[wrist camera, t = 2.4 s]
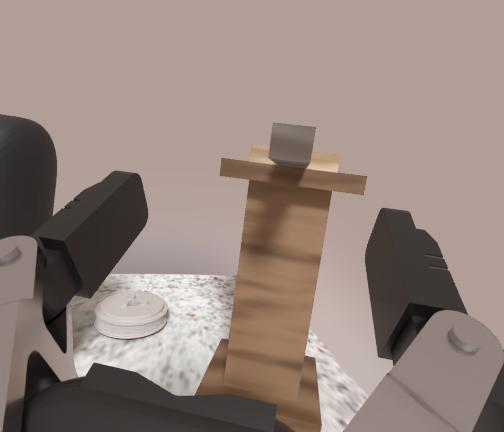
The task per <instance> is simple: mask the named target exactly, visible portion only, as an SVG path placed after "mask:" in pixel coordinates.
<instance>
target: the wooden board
mask: <svg viewBox="0 0 504 432" xmlns="http://www.w3.org/2000/svg"><path fill="white" fill-rule="evenodd" d="M315 129H316V127H309V126H300V125H291V124H282V123H273V127H272V134H271V142H270V146H262V145H254V144H251V151H250V158H249V162H257V163H265V164H273V165H281V166H289V167H297V168H304V169H312V170H320V171H328V172H336V173H337V171H338V165H339V159H340V155H338V154H330V153H321V152H313V151H312V148H313V142H314V136H315Z"/></svg>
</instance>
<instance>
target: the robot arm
mask: <svg viewBox="0 0 504 432" xmlns="http://www.w3.org/2000/svg"><path fill="white" fill-rule="evenodd" d="M56 177H57V158H56V151H55V147H54V144H53V141H52V139H51V137H50V135H49V134H48V132H47V131H46V130H45V129H44V128H43V127H42V126H41V125H40V124H38V123H36V122H34V121H32V120H29V119H25V118H20V117H15V116H7V115H1V114H0V432H295V431H294V430H293V429H291V428H290V427H289V426H287V425H286V424H285V423H283V422H281V421H279V420H278V419H276V410H277V404H272V403H268V402H264V401H259V400H255V399H251V398H246V397H242V396H238V395H233V394H213V395H196V396H176V395H173V394H171V393H170V392H168V391H167V390H165V389H163V388H162V387H160V386H158V385H157V384H155V383H153V382H152V381H150V380H148V379H147V378H145V377H143V376H142V375H140V374H138V373H137V372H133V371H129V370H124V369H120V368H115V367H111V366H107V365H102V364H98V363H93V365H92V366H91V368H90V370H89V371H88V373H87V375H86V376H84V377H78V375H77V372H76V370H75V366H74V360H73V331H72V307H71V305H70V303H69V302H70V300H71V299H72V298H73V297H74V295H76V296H81V297H86V298H91V297H92V296H93V295H94V293H95V292H96V291H97V289H98V288H99V287H100V285H101V284H102V283H103V281H104V280H105V279H106V277H107V276H108V275H109V273H110V272H111V271H112V269H113V268H114V267H115V265H116V264H117V263H118V261H119V260H120V259H121V257H122V256H123V255H124V253H125V252H126V251H127V249H128V248H129V247H130V245H131V244H132V243H133V241H134V240H135V239H136V237H137V236H138V235H139V233H140V232H141V231H142V230H143V228H144V227H145V225H146V222H147V219H148V208H147V203H146V198H145V194H144V189H143V184H142V181H141V177H140V175H139V174H137V173H131V172H123V171H113V172H112V173H111V174H109V175H108V176H107V177H106V178H105V179H104V180H103V181H101V182H100V183H97V184H95V185H93V186H91V187H89V188H87V189H85V190H83V191H82V192H81V193H80V194H79V195H77V196H76V197H75V198H74V200H73V201H71V202H69V203H68V204H67V205H66V206H65V208H64V209H61V210H60V211H59V212H58V213H56V214H55V215H54V216H53V207H54V196H55V188H56ZM365 264H366V272H367V280H368V287H369V294H370V301H371V308H372V316H373V323H374V330H375V338H376V345H377V352H378V357H380V358H385V359H390V360H393V366H394V367H393V368H392V370H391V371H390V372H389V373H387V375H386V376H385V377H384V378H383V380H382V381H381V382H380V383H379V385H378V386H377V387H376V389H375V390H374V392H373V393H372V394H371V395H370V397H369V398H368V399H367V401H366V402H365V403H364V404H363V406H362V407H361V408H360V410H359V411H358V412H357V414H356V415H355V416H354V418H353V419H352V420H351V422H350V423H349V424H348V426H347V427H346V428H345V430H344V431H343V432H504V350H503V348H502V346H501V344H500V342H499V340H498V339H497V338H496V336H495V335H494V334H493V333H492V332H491V331H490V330H489V329H488V328H487V327H486V326H485V325H484V324H482V323H481V322H479V321H478V320H476V319H475V318H472V317H471V316H469V315H468V314H467V311H466V309H465V307H464V304H463V302H462V300H461V297H460V295H459V293H458V290H457V288H456V286H455V283H454V281H453V279H452V276H451V274H450V272H449V271H448V270H447V269H448V267H447V265H446V262H445V260H444V259H443V255H442V253H441V251H440V248H439V246H438V243H437V242H436V241H435V240H434V239H433V238H432V237H431V236H430V235H429V234H428V233H427V232H426V231H425V230H421V229H416V227H415V225H414V222H413V220H412V217H411V214H410V212H409V211H404V210H396V209H388V208H382V209H381V210H380V212H379V214H378V217H377V220H376V222H375V225H374V228H373V231H372V233H371V236H370V239H369V241H368V244H367V248H366V254H365Z"/></svg>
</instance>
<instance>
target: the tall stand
mask: <svg viewBox="0 0 504 432" xmlns="http://www.w3.org/2000/svg"><path fill="white" fill-rule="evenodd" d="M220 176H226V177H233V178H241V179H249V187H248V195H247V204H246V211H245V218H244V226H243V234H242V242H241V250H240V257H239V265H238V274H237V281H236V289H235V297H234V304H233V312H232V320H231V328H230V336H229V340H227V339H221V341H220V343H219V345H218V347H217V350H216V352H215V354H214V356H213V358H212V360H211V362H210V364H209V366H208V369H207V371H206V373H205V375H204V377H203V379H202V381H201V383H200V385H199V388H198V390H197V392H196V394H195V396H196V395H213V394H233V395H238V396H242V397H246V398H251V399H255V400H259V401H264V402H268V403H272V404H277V410H276V419H278V420H279V421H281V422H283V423H285V424H286V425H287V426H289V427H290V428H291V429H293V430H294V431H295V432H320V431H321V426H322V424H321V414H320V403H319V393H318V383H317V372H316V362H315V358H314V357H309V356H305V350H306V344H307V338H308V332H309V326H310V320H311V314H312V308H313V302H314V295H315V290H316V284H317V278H318V272H319V265H320V260H321V254H322V248H323V241H324V236H325V230H326V224H327V218H328V212H329V206H330V200H331V194H332V191H338V192H346V193H352V194H360V195H364V190H365V184H366V179H367V176H360V175H352V174H344V173H336V172H328V171H320V170H312V169H304V168H297V167H289V166H281V165H273V164H265V163H257V162H249V161H241V160H233V159H226V158H222V160H221V169H220Z"/></svg>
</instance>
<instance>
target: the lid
mask: <svg viewBox="0 0 504 432" xmlns="http://www.w3.org/2000/svg"><path fill="white" fill-rule="evenodd" d="M167 310H168V305H167V303H166V302H165V301H164V300H163V299H161V298H160V297H159V296H157V295H155V294H152V293H148V292H141V291H129V292H121V293H117V294H114V295H111V296H109V297H107V298H105V299H104V300H102V301H101V302H100V303H98V304H97V306H96V307H95V315H96V318H95V320H94V327H95V329H96V330H97V331H98V332H100V333H101V334H103V335H106V336H109V337H113V338H121V339H130V338H139V337H144V336H147V335H150V334H153V333H155V332H157V331H159V330H160V329H161V328H163V327H164V325H165V324H166V321H167V317H166V312H167Z"/></svg>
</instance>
